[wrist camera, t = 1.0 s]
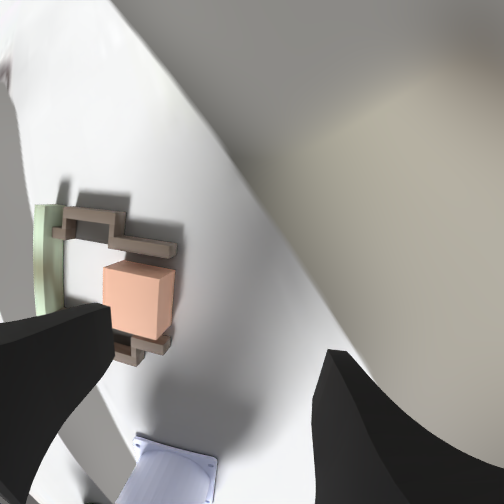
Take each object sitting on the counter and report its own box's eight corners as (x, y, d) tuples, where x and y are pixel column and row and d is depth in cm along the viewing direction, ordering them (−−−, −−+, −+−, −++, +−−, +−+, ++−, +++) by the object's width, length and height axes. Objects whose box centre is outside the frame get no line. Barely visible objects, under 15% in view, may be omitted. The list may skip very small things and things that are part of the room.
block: (172, 323, 21) (156, 340, 18) (123, 311, 21) (103, 325, 18) (176, 269, 20) (159, 279, 17) (125, 259, 20) (103, 267, 17)
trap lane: (169, 364, 21) (157, 381, 18) (56, 328, 22) (39, 338, 19) (180, 219, 19) (166, 220, 17) (55, 204, 20) (34, 204, 18)
